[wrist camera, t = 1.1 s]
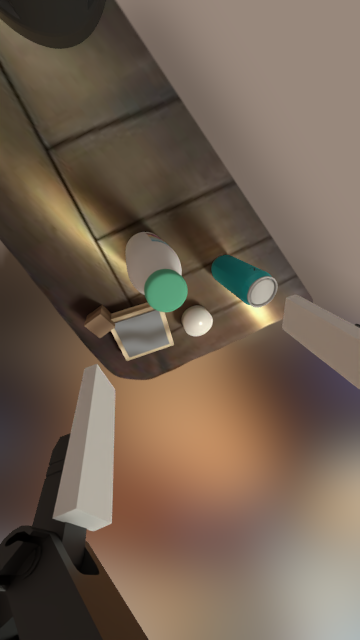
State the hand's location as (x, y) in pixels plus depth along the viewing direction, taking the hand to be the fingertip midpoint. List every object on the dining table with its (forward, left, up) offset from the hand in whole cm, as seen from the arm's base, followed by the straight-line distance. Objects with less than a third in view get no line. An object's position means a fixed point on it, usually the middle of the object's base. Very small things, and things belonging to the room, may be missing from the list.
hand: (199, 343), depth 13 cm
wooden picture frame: (+16, -6, -28) cm, 33 cm away
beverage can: (+7, +15, -29) cm, 33 cm away
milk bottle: (0, 0, -29) cm, 29 cm away
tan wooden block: (+10, -13, -28) cm, 33 cm away
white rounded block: (+18, +7, -28) cm, 34 cm away
